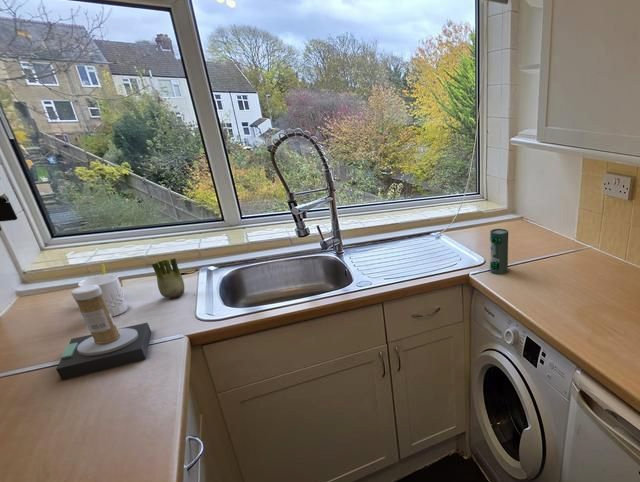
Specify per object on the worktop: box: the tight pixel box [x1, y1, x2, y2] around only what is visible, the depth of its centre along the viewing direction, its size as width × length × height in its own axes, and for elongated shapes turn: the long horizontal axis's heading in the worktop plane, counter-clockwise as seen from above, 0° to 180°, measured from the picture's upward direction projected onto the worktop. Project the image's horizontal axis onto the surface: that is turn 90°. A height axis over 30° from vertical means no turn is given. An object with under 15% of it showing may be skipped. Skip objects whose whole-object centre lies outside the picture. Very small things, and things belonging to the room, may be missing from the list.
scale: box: [55, 322, 152, 381], centre depth 96 cm, size 14×14×4 cm
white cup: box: [77, 274, 129, 317], centre depth 112 cm, size 8×8×10 cm
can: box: [489, 228, 509, 275], centre depth 145 cm, size 6×6×15 cm
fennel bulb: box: [151, 257, 185, 299], centre depth 121 cm, size 6×5×12 cm
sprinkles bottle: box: [70, 285, 120, 344], centre depth 92 cm, size 5×5×14 cm
